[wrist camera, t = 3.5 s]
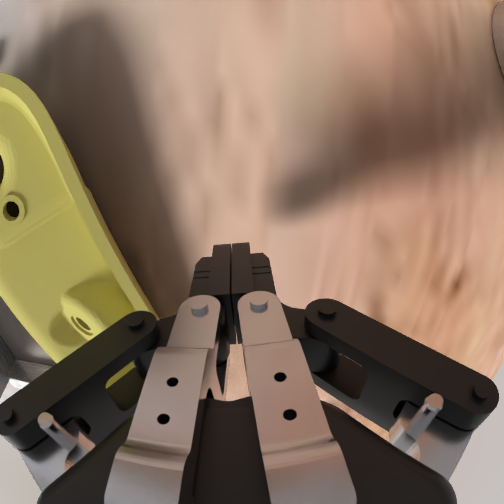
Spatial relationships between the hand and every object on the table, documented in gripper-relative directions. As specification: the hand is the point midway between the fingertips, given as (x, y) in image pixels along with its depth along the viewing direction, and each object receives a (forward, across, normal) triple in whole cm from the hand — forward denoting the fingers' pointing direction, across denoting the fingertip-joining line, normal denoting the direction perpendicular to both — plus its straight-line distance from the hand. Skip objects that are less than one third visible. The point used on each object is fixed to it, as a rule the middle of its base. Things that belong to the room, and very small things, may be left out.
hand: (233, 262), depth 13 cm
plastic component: (+4, +11, -1) cm, 12 cm away
